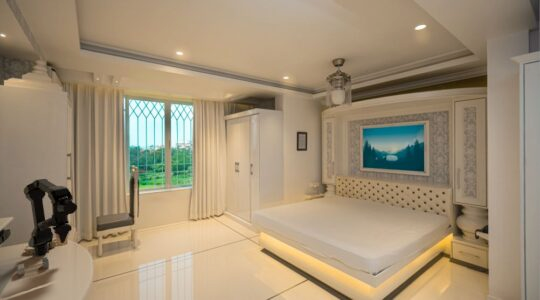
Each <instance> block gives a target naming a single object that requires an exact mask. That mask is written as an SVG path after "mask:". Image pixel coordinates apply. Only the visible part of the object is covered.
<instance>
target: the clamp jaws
mask: <svg viewBox="0 0 540 300" xmlns="http://www.w3.org/2000/svg"><path fill="white" fill-rule="evenodd" d="M41 261H42V262H41V263H42V266H43V269H47V268H49V269H50V263H49V257H48V256H47V257H43V258H41ZM24 268H25V263H21V264H17V273H18V278H19V277H20V276H23V275H25V271H24Z"/></svg>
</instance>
